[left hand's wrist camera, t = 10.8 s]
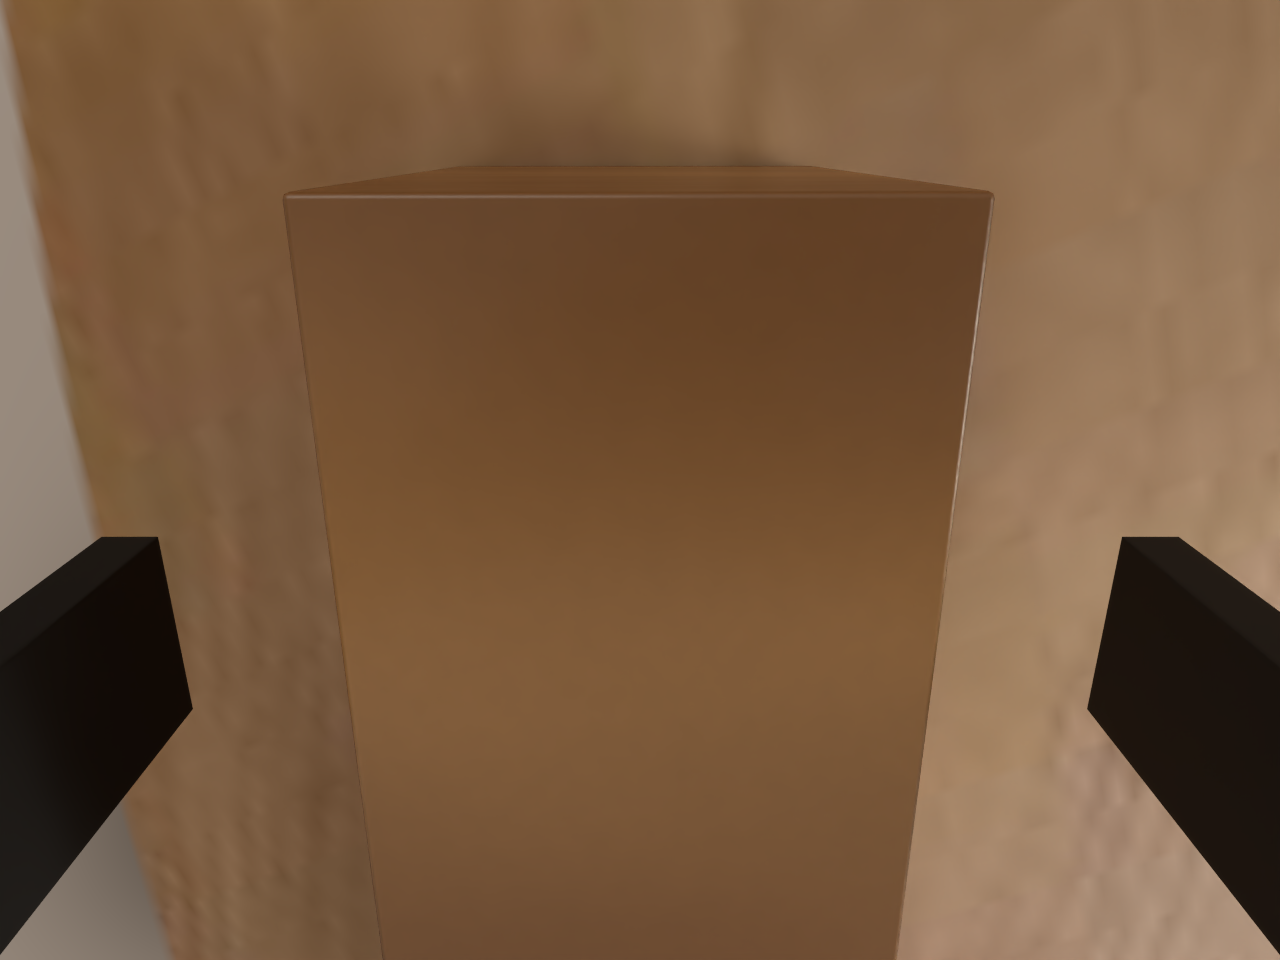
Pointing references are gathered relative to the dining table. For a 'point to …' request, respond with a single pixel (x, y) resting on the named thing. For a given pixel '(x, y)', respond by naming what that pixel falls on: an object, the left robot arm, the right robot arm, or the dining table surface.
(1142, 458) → the dining table surface
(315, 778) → the dining table surface
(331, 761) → the dining table surface
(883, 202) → the bar
